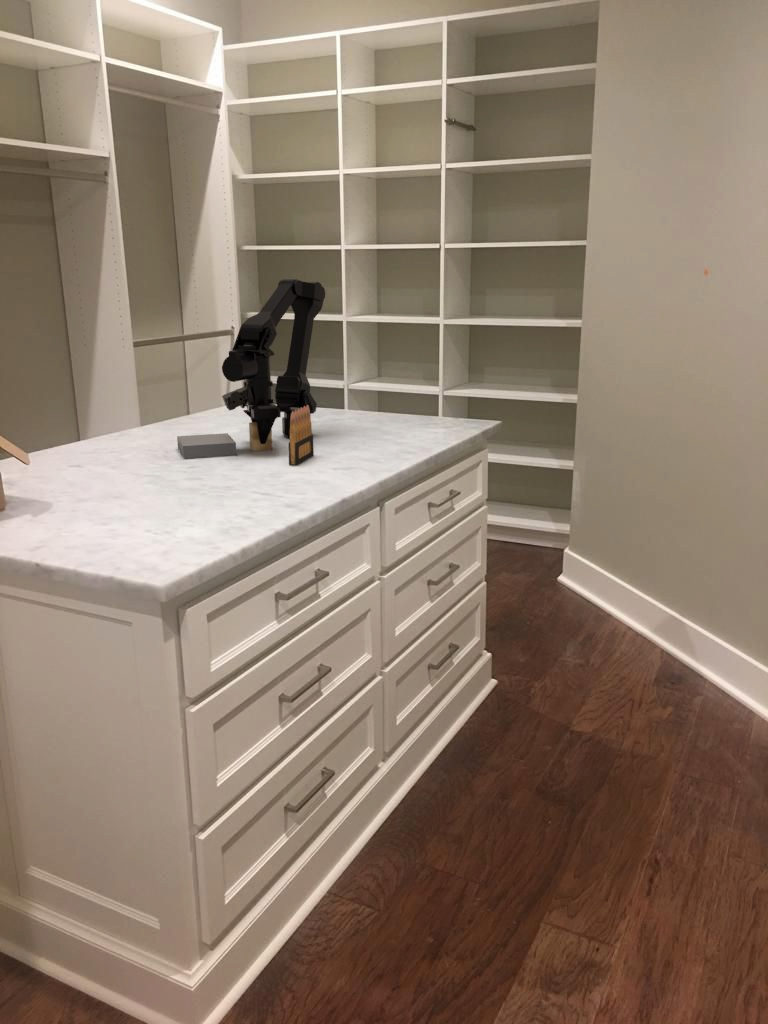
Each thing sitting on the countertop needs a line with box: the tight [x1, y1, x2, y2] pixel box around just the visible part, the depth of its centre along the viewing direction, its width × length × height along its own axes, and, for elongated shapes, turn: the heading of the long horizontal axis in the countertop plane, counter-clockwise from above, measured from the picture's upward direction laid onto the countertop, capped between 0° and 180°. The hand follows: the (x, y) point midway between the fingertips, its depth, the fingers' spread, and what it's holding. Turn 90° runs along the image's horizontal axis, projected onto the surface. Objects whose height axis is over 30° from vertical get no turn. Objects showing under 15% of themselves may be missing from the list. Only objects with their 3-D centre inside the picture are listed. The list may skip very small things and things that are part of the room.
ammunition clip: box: [288, 405, 315, 467], centre depth 189 cm, size 11×2×12 cm, turn 164°
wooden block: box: [248, 421, 273, 452], centre depth 203 cm, size 4×4×6 cm
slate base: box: [176, 432, 237, 460], centre depth 199 cm, size 12×12×3 cm
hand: (260, 441), depth 203 cm, fingers closed on wooden block, 4 cm apart
